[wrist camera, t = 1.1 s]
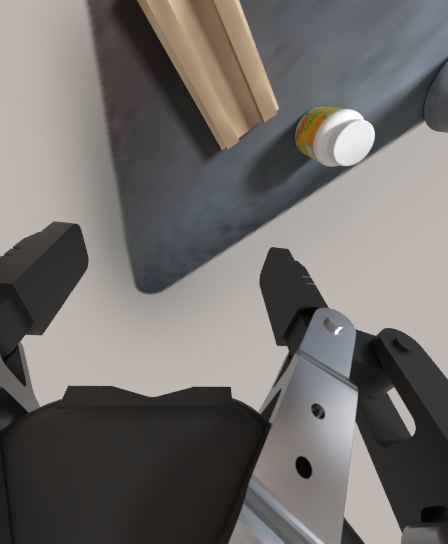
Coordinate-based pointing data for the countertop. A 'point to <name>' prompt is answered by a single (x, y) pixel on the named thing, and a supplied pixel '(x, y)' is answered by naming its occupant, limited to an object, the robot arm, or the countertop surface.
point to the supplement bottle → (334, 136)
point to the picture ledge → (215, 62)
